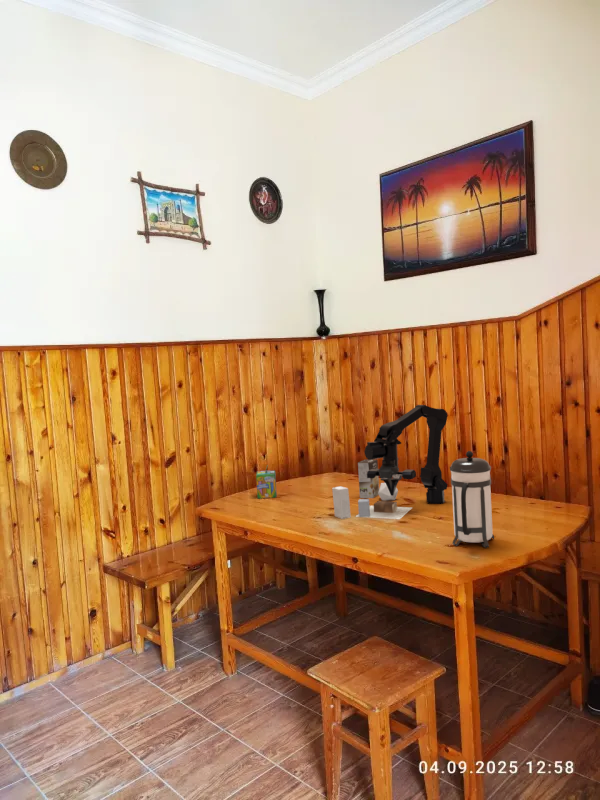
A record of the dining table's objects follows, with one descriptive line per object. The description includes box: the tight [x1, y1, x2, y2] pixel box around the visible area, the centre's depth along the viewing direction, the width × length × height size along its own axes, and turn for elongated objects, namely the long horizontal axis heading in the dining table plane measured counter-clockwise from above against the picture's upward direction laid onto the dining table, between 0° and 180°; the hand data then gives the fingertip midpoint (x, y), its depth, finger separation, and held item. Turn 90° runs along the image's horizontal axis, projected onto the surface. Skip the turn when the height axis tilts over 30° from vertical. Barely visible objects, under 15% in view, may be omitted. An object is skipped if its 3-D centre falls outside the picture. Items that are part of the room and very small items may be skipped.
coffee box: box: [357, 458, 380, 499], centre depth 271 cm, size 9×6×16 cm
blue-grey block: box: [357, 498, 371, 518], centre depth 236 cm, size 4×4×6 cm
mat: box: [355, 505, 413, 520], centre depth 239 cm, size 18×18×1 cm
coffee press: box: [449, 450, 495, 549], centre depth 194 cm, size 17×16×30 cm
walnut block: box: [373, 500, 398, 513], centre depth 241 cm, size 3×5×8 cm
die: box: [377, 482, 399, 502], centre depth 260 cm, size 8×9×10 cm
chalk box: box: [255, 464, 278, 499], centre depth 284 cm, size 9×9×15 cm
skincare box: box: [331, 486, 352, 520], centre depth 236 cm, size 6×4×12 cm
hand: (392, 495), depth 239 cm, fingers closed
